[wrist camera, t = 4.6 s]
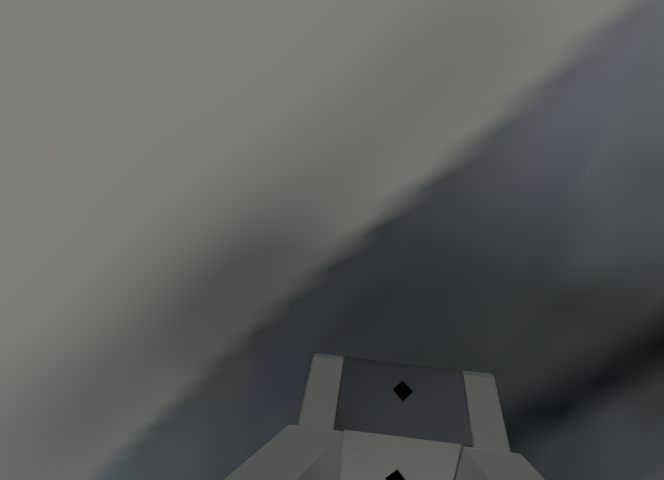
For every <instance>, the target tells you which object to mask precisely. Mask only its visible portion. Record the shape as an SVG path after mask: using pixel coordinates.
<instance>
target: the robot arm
mask: <svg viewBox="0 0 664 480" xmlns="http://www.w3.org/2000/svg"><path fill="white" fill-rule="evenodd" d="M224 480H545V479H544V478H543V477H542V476H541V475H540V474H539V473H538V472H537V471H536V470H535V468H534V467H533V466H532V465H531V464H530V463H529V462H528V461H527V460H526V459H525V458H524V457H523V456H522V455H521V454H519V453H512V452H511V451H510V446H509V442H508V437H507V433H506V428H505V423H504V419H503V414H502V410H501V405H500V401H499V396H498V391H497V387H496V382H495V378H494V376H493V375H492V374H491V373H485V372H475V371H464V370H461V371H459V370H450V369H441V368H432V367H422V366H413V365H404V364H397V363H389V362H382V361H375V360H368V359H361V358H354V357H347V356H345V359H344V357H343V356H336V355H328V354H321V353H315V355H314V357H313V359H312V363H311V368H310V372H309V377H308V381H307V386H306V390H305V395H304V399H303V404H302V408H301V413H300V417H299V422H298V425H292V424H288V425H287V426H286V427H285V428H284V429H283V430H281V431H280V432H279V433H278V434H277V435H275V436H274V437H273V438H272V439H271V440H270V441H268V442H267V443H266V444H265V445H264V446H263V447H261V448H260V449H259V450H258V451H257V452H255V453H254V454H253V455H252V456H251V457H250V458H248V459H247V460H246V461H245V462H244V463H242V464H241V465H240V466H239V467H238V468H237V469H235V470H234V471H233V472H232V473H231V474H230V475H228V476H227V477H226V478H225V479H224Z"/></svg>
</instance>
